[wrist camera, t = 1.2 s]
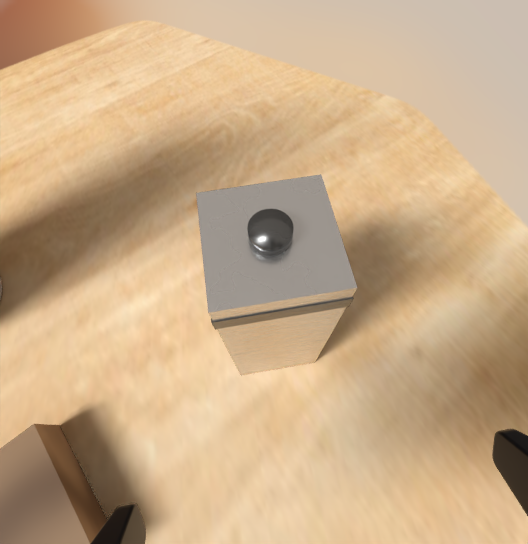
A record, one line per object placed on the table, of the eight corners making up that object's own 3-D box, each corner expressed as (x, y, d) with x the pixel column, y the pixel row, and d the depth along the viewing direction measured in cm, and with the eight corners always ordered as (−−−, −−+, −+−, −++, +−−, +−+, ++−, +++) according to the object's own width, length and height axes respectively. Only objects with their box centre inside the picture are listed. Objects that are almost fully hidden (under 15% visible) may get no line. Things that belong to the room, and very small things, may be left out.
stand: (121, 549, 18) (100, 565, 16) (-26, 683, 16) (-75, 724, 14) (59, 425, 21) (33, 424, 19) (-74, 525, 19) (-120, 537, 17)
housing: (315, 362, 22) (363, 281, 11) (240, 376, 22) (203, 308, 10) (299, 293, 25) (324, 162, 13) (230, 304, 24) (191, 181, 13)
